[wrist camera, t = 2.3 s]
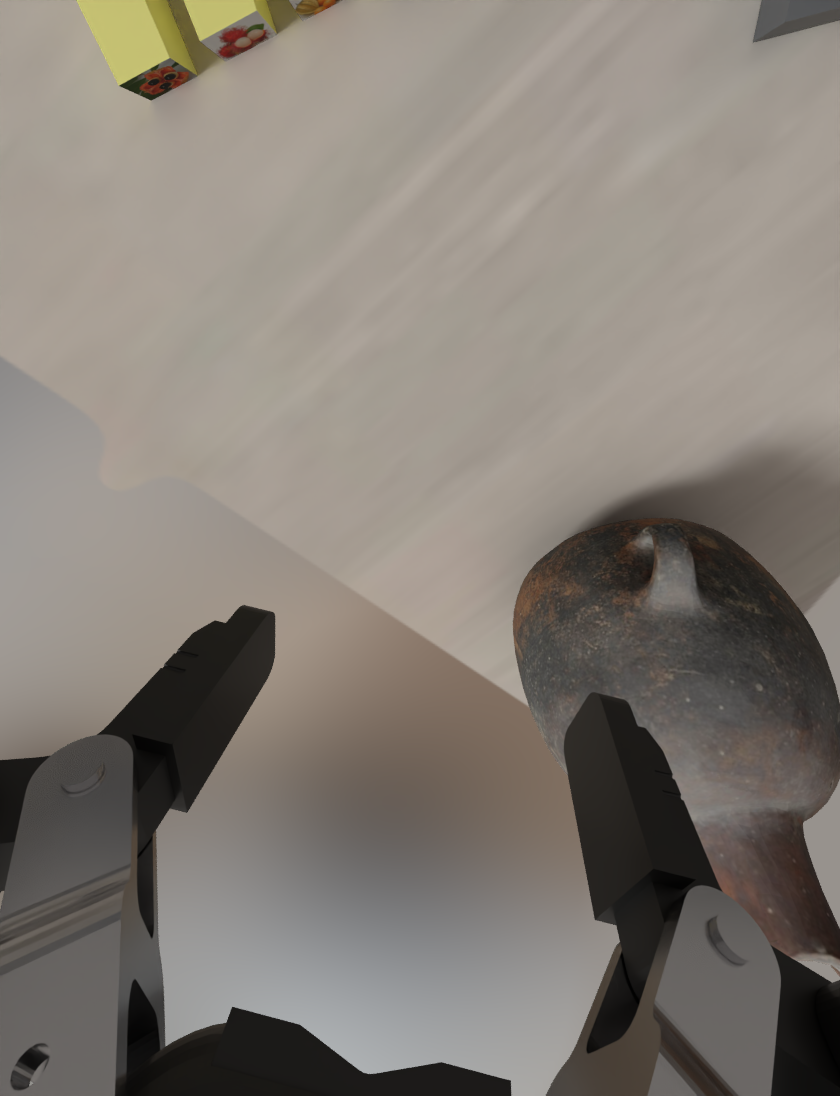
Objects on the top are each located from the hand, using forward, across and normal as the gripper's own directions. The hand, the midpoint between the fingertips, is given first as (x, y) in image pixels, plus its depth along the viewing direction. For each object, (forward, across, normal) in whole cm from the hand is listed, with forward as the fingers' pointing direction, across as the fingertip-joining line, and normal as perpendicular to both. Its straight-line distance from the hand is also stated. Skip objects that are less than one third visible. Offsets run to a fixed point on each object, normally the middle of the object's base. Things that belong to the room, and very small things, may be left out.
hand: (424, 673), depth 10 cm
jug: (+31, -18, +12) cm, 38 cm away
